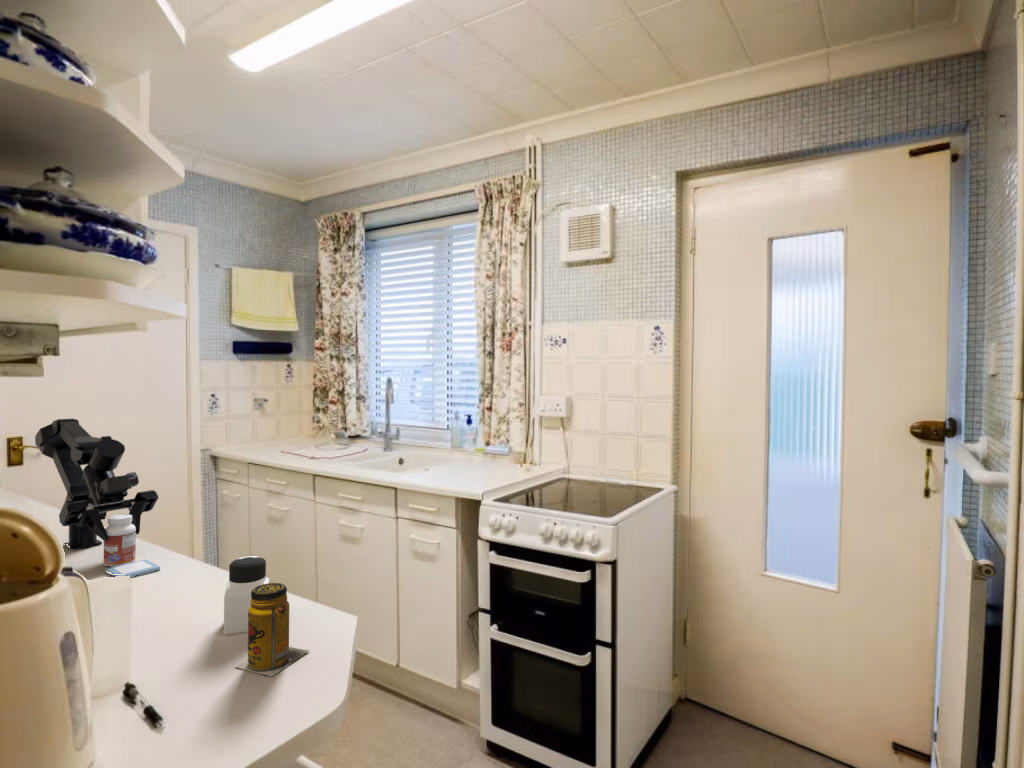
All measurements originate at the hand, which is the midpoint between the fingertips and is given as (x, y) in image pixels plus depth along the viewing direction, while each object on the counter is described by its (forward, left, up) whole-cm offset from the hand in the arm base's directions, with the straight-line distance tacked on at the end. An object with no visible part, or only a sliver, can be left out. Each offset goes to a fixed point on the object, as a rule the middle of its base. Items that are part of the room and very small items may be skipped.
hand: (122, 536), depth 131 cm
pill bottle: (-1, 0, -7) cm, 7 cm away
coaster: (+7, 0, -7) cm, 9 cm away
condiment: (+67, -3, -7) cm, 67 cm away
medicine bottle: (+52, +1, -7) cm, 52 cm away
